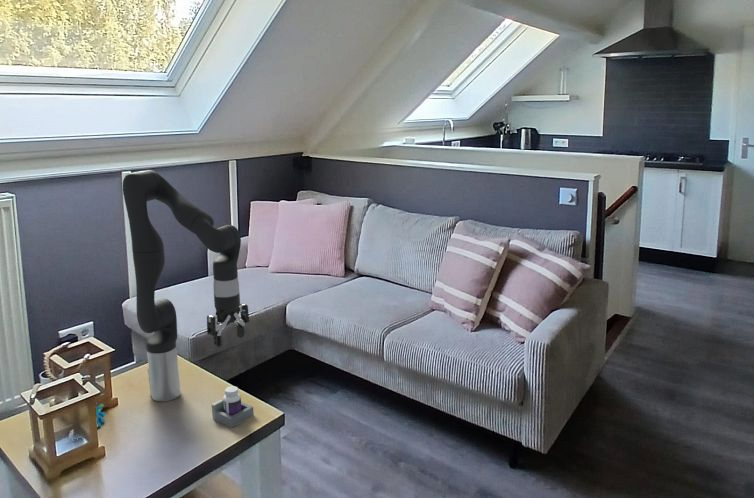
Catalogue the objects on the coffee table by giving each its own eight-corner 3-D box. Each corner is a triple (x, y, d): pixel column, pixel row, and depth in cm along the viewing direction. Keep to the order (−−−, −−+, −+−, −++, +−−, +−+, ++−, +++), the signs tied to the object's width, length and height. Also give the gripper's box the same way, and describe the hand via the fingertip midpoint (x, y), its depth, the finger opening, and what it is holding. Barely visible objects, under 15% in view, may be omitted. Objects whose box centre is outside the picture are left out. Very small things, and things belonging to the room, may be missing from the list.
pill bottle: (245, 414, 195) (243, 386, 192) (236, 423, 190) (234, 394, 187) (230, 411, 196) (228, 383, 194) (221, 420, 191) (218, 391, 189)
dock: (212, 418, 192) (211, 404, 191) (234, 406, 199) (233, 392, 198) (231, 427, 187) (230, 413, 186) (253, 415, 194) (252, 401, 192)
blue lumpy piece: (88, 431, 183) (68, 405, 184) (77, 442, 184) (58, 416, 185) (115, 417, 193) (95, 392, 194) (104, 427, 195) (85, 403, 196)
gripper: (236, 283, 192) (239, 331, 197) (199, 295, 182) (202, 346, 186) (253, 288, 188) (255, 337, 193) (215, 301, 177) (218, 352, 182)
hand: (229, 341), depth 189 cm, fingers open, 8 cm apart
